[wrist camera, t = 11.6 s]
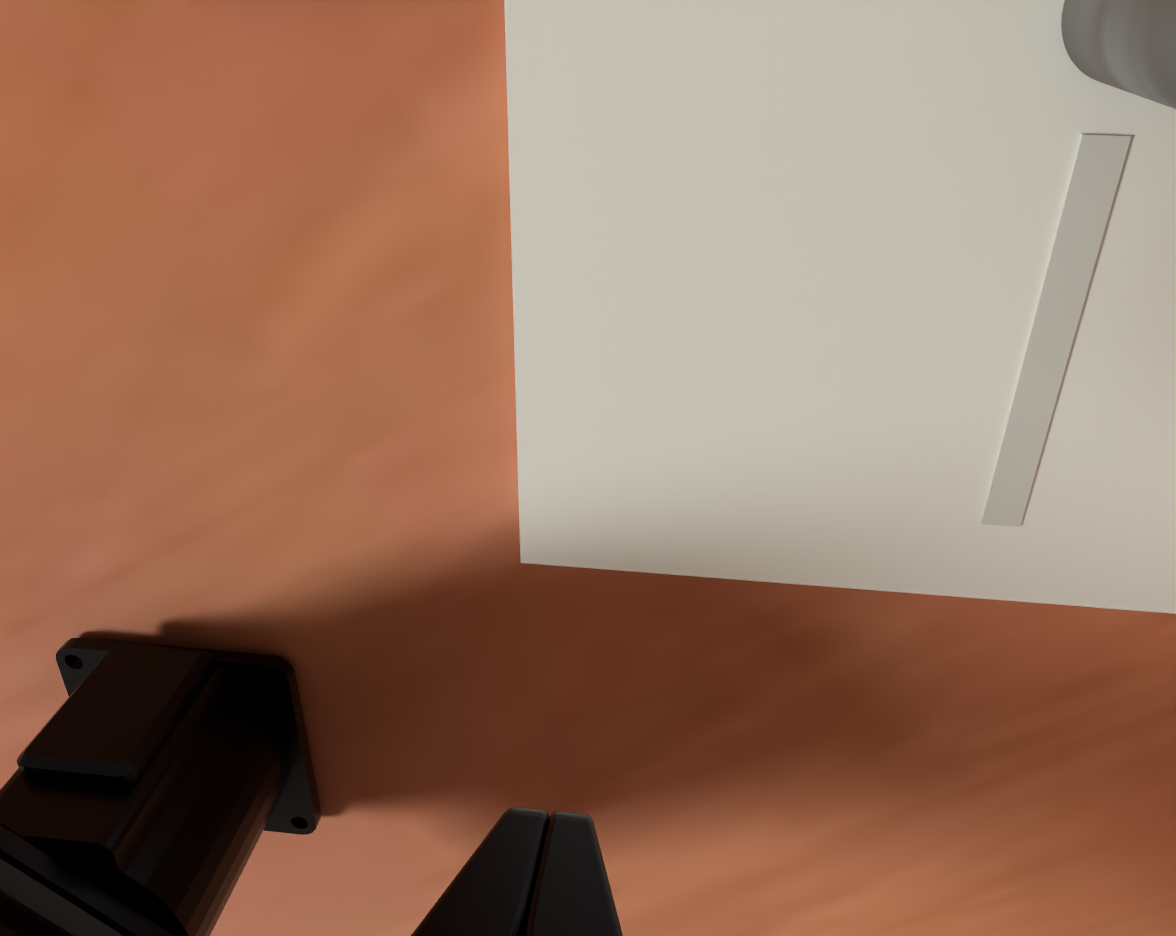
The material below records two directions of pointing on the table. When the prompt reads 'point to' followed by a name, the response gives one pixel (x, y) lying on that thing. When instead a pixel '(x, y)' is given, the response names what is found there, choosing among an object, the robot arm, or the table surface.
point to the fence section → (1124, 44)
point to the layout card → (841, 299)
